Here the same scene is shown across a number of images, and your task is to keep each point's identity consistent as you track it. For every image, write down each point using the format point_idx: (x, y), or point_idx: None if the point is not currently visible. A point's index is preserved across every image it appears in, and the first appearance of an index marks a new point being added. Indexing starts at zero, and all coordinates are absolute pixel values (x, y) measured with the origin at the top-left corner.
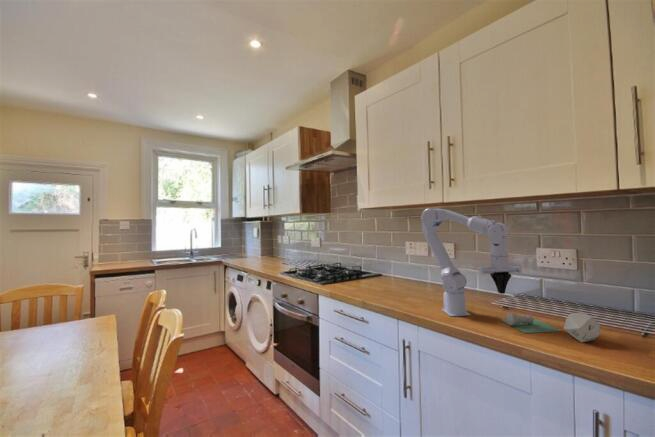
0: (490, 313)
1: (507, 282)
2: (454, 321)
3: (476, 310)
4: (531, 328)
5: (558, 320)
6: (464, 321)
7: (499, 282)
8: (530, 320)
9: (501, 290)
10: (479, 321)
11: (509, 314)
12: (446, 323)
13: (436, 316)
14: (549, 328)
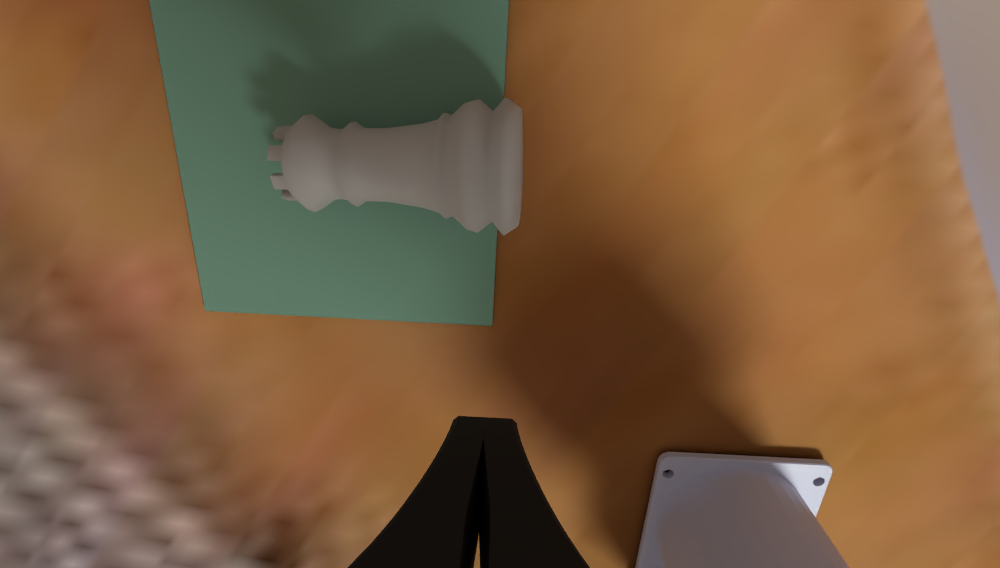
0: None
1: (380, 540)
2: (878, 360)
3: None
4: (375, 38)
5: (18, 209)
6: (801, 344)
7: (582, 560)
8: (318, 123)
9: (516, 444)
10: (683, 320)
11: (516, 176)
12: (978, 330)
13: (921, 488)
14: (210, 2)
